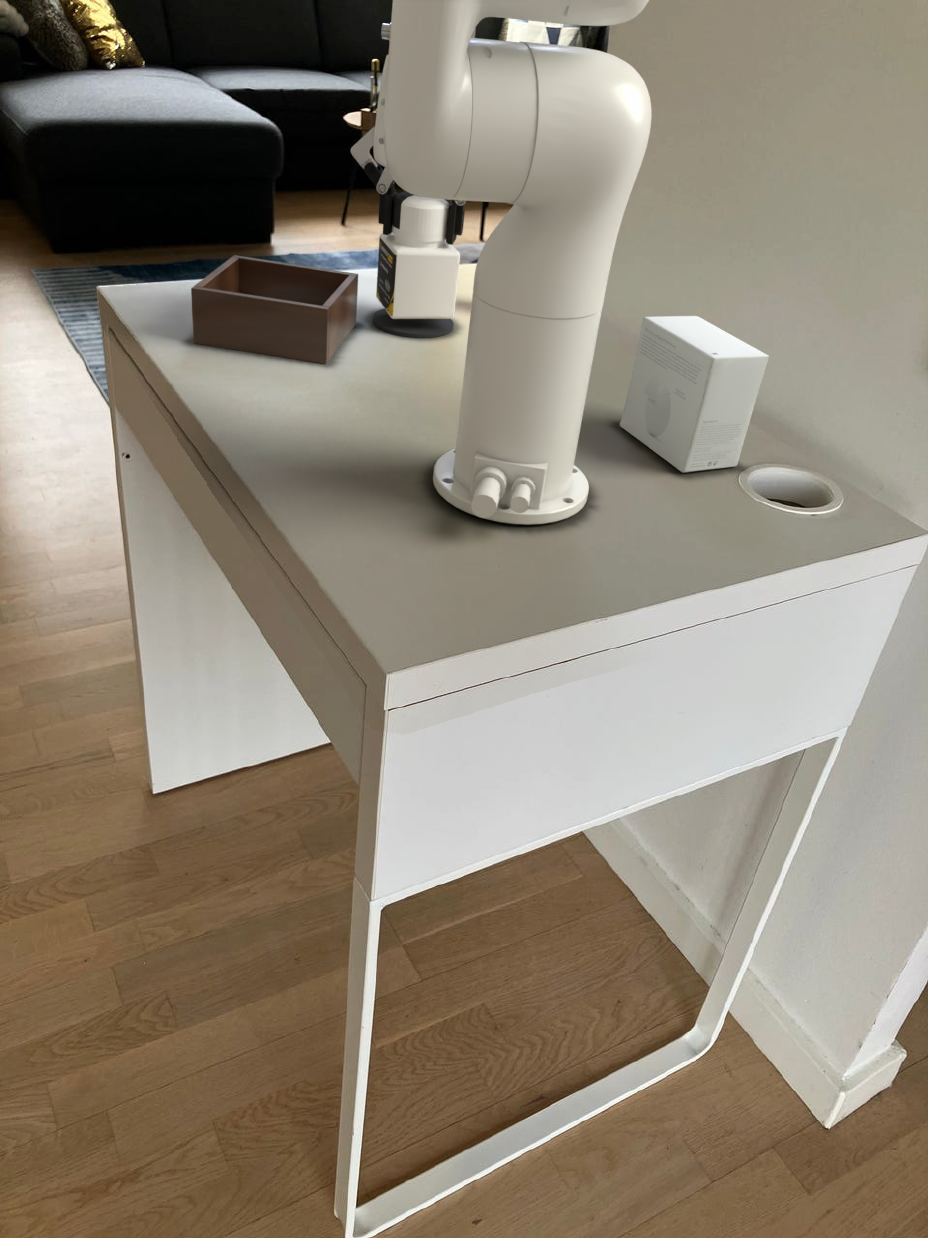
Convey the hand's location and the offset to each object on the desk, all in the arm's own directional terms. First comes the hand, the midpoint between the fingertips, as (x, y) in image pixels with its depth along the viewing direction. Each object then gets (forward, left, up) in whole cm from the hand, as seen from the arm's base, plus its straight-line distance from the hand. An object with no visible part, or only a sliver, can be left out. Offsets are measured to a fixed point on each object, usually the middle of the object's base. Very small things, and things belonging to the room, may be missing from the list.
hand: (420, 234), depth 109 cm
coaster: (0, 0, -10) cm, 10 cm away
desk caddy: (-10, +12, -10) cm, 18 cm away
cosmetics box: (-22, -29, -10) cm, 38 cm away
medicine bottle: (0, 0, -8) cm, 8 cm away
